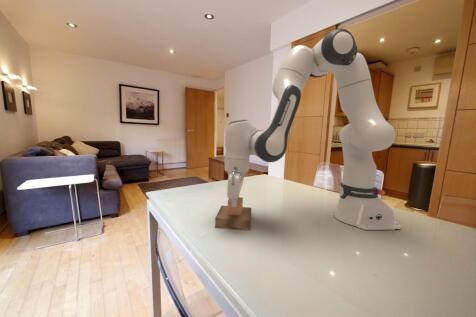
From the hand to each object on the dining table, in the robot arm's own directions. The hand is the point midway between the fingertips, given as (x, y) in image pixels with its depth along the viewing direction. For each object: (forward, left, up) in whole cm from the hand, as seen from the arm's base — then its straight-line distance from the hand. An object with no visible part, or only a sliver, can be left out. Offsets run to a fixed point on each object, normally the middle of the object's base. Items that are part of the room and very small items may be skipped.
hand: (235, 202), depth 75 cm
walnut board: (0, 0, -8) cm, 8 cm away
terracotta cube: (0, 0, -4) cm, 4 cm away
